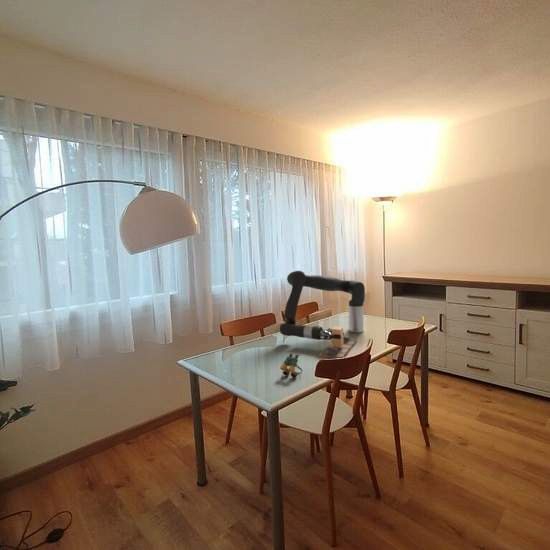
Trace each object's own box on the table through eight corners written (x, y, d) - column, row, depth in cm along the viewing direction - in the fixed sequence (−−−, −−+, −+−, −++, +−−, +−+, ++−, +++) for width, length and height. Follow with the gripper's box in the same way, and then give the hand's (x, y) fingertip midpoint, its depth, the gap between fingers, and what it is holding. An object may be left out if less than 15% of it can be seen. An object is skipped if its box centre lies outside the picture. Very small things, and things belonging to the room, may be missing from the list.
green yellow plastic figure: (283, 378, 153) (276, 365, 147) (291, 362, 159) (284, 349, 153) (300, 382, 148) (293, 369, 142) (308, 366, 153) (302, 352, 148)
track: (336, 340, 198) (336, 333, 197) (356, 342, 192) (356, 335, 192) (319, 357, 172) (319, 348, 171) (342, 360, 166) (341, 351, 166)
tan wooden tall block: (334, 343, 183) (334, 326, 182) (343, 344, 180) (343, 327, 179) (332, 346, 178) (331, 328, 177) (340, 347, 176) (340, 329, 175)
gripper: (308, 329, 179) (338, 332, 171) (317, 322, 191) (345, 325, 183) (308, 342, 180) (338, 346, 172) (317, 335, 192) (346, 338, 184)
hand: (342, 335), depth 178 cm, fingers closed on tan wooden tall block, 5 cm apart
